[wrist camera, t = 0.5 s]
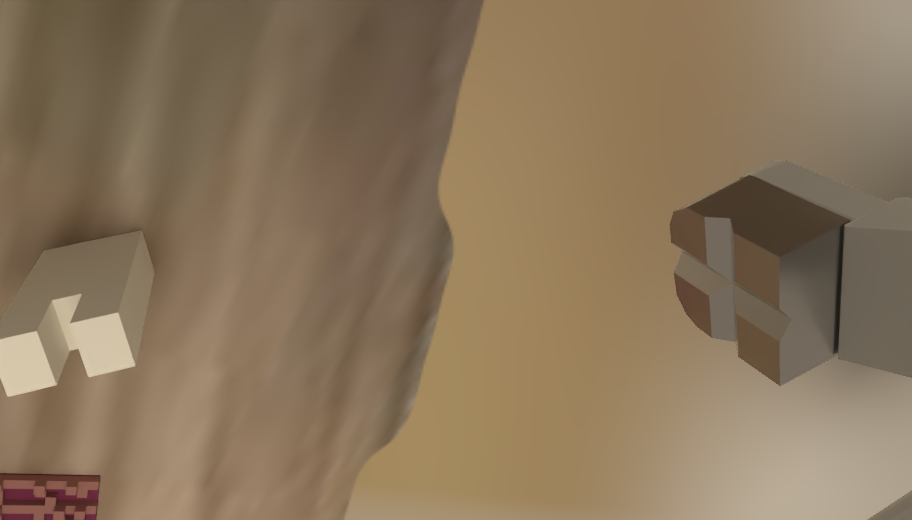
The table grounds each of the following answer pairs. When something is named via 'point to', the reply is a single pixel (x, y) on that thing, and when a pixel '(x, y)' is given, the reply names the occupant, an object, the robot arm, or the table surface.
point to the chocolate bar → (48, 497)
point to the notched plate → (77, 312)
